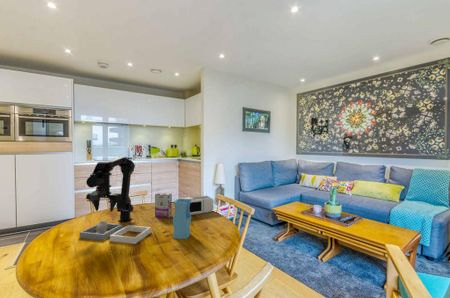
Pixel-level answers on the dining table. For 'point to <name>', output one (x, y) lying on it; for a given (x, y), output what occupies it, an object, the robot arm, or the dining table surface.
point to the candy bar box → (163, 205)
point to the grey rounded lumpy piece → (102, 227)
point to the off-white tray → (133, 240)
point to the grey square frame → (97, 236)
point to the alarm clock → (200, 204)
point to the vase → (182, 219)
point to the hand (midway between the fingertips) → (104, 211)
